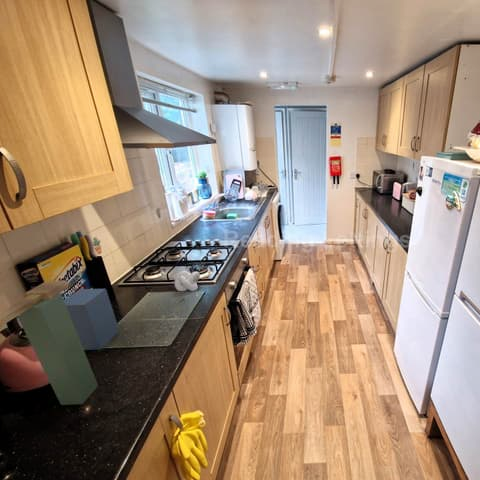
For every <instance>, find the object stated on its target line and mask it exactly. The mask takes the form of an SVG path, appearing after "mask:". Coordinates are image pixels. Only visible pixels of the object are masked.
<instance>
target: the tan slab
mask: <svg viewBox="0 0 480 480" xmlns="http://www.w3.org/2000/svg"><path fill="white" fill-rule="evenodd" d="M68 288H70V285H69V284H68V280H46V281H44V282H42V283H40V284H39V285H36V286H35V287H34V288H32V289H29V290H28V291H26V292H25V293H24V294H25V297H24V298H23V299H20V300H19V301H17V302H16V303H13V304H12V305H10V306H9V307H7V308H5V309H3V310H1V311H0V328H1V327H2V326H4V325H6V324H7V323H9V322H10V321H12V320H13V319H15V318H18V317H17V316H18V315H20V314H21V313H23V312H25V311H26V310H28V309H29V308H31V307H33V306H34V305H36V304H37V303H39V302H41V301H42V300H47V299H51V298H52V297H54V296H55V295H57V294H61V293H62V292H64V291H65V290H67V289H68Z"/></svg>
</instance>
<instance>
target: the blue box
mask: <svg viewBox="0 0 480 480" xmlns="http://www.w3.org/2000/svg"><path fill="white" fill-rule="evenodd" d="M63 300H64V303H65V305H66V307H67V310H68V312H69V315H70V317H71V320H72V322H73V325H74V327H75V330H76V332H77V335H78V337H79V340H80V342H81V345H82V347H83V349H84V351H94V350H95V351H96V350H98V351H100V350H102V349H104V347H105V346H107V344H108V343H109V342H110V341H111V340H112V339H114V337H115V336H116V335H117V334H118V333H119V331H120V328H119V324H118V322H117V318H116V315H115V313H114V309H113V306H112V303H111V300H110V298H109V294H108V290H107V289H106V288H80V289H78V290H77V291H75V292H74V293H72V294H71V295H69V296H68V297H66V298H65V299H63Z"/></svg>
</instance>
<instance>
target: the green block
mask: <svg viewBox="0 0 480 480" xmlns="http://www.w3.org/2000/svg"><path fill="white" fill-rule="evenodd" d="M64 300H65V299H64V297H63V295H62V293H59V294H57V295H55V296H54V297H52V298H51V299H47V300H42V301H41V302H39V303H37V304H36V305H34V306H33V307H31V308H29V309H28V310H26V311H25V312H23V313H21V314H20V315H18V316H17V317H16V318H17V319H18V321H19V323H20V326H21V327H22V329H23V331H24V334H25V335H26V338H27V339H28V341H29V343H30V345H31V347H32V349H33V351H34V353H35V355H36V357H37V360H38V361H39V363H40V365H41V368H42V369H43V371H44V373H45V376H46V377H47V380H48V382H49V384H50V386H51V387H52V390H53V392H54V394H55V396H56V398H57V400H58V402H59V404H60V405H61V406H65V405H66V406H67V405H68V406H69V405H83V404H85V402H86V401H87V400H88V399H89V398H90V396H91V395H92V394H93V392H94V391H96V389H97V388H98V387H99V384H98V381H97V378H96V376H95V374H94V372H93V369H92V367H91V364H90V362H89V359H88V357H87V355H86V353H85V350H84V349H83V347H82V345H81V342H80V340H79V337H78V335H77V332H76V330H75V327H74V325H73V322H72V320H71V317H70V315H69V312H68V310H67V307H66V305H65V303H64Z"/></svg>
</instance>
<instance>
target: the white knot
mask: <svg viewBox="0 0 480 480" xmlns="http://www.w3.org/2000/svg"><path fill="white" fill-rule="evenodd" d="M200 277H201V274H200V272H199V271H193V272H189V271H187V270H182V271H180V272H178V273H177V274H176V276H175V277H174V284H173V285H174V288H175V290H177V291H178V292H185V291H188V290H189V291H190V292H195V291H197V290H198V288H199V286H198V284H197V282H198V281H199V280H200Z"/></svg>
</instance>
